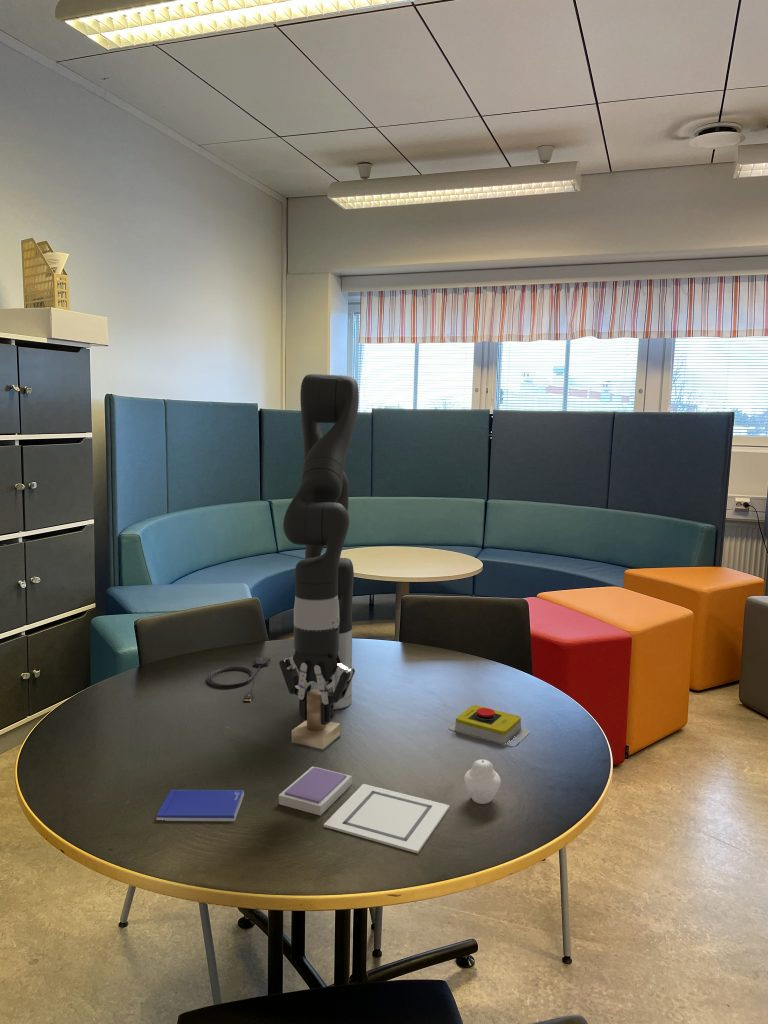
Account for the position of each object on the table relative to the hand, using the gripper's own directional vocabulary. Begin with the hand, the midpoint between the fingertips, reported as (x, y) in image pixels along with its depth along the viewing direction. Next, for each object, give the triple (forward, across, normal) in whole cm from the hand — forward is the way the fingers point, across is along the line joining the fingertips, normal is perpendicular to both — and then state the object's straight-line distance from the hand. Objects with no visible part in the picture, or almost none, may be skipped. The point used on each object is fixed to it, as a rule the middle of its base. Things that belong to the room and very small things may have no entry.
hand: (316, 720), depth 119 cm
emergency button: (+14, +20, +38) cm, 45 cm away
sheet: (+13, +14, -1) cm, 19 cm away
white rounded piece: (+13, +26, +11) cm, 31 cm away
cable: (+14, -45, +38) cm, 61 cm away
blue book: (+14, -15, -12) cm, 24 cm away
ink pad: (+13, 0, 0) cm, 13 cm away
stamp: (+4, 0, 0) cm, 4 cm away
